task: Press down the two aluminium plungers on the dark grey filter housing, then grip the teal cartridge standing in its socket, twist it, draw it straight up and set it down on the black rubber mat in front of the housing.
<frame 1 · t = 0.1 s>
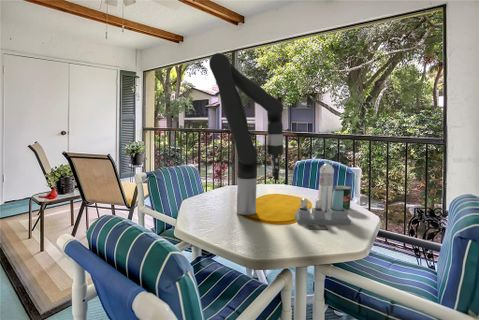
hand: (275, 177, 142), 17 cm above the table, tool pointing down, fingers open, 8 cm apart
water bottle: (324, 210, 150), on the table
plunger a: (304, 204, 133), point 8 cm above the table, slide at 0.0 cm
filter housing: (321, 220, 135), on the table
rubber mat: (317, 227, 126), on the table
plunger b: (318, 205, 133), point 8 cm above the table, slide at 0.0 cm
canned tomato: (341, 208, 155), on the table
filter cartridge: (336, 216, 134), point 2 cm above the table, touching filter housing
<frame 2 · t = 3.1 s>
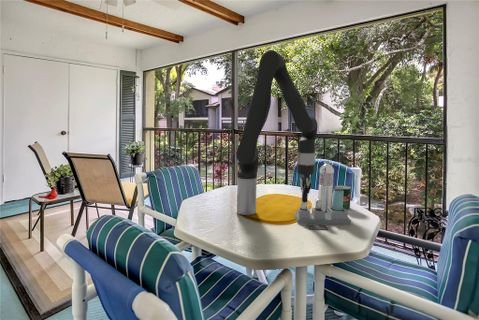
hand: (304, 201, 133), 9 cm above the table, tool pointing down, fingers closed
plunger a: (303, 207, 133), point 7 cm above the table, slide at 1.0 cm, touching gripper
everything else where it was.
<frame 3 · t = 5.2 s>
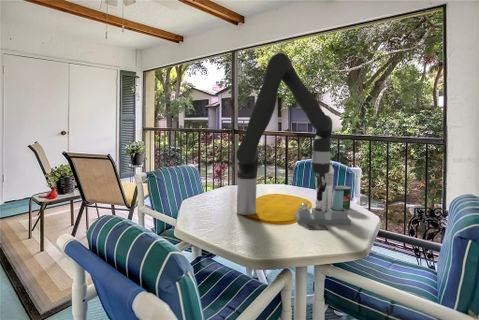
hand: (319, 200, 132), 10 cm above the table, tool pointing down, fingers closed
plunger a: (303, 209, 133), point 5 cm above the table, slide at 2.1 cm
plunger b: (318, 205, 133), point 7 cm above the table, slide at 0.2 cm, touching gripper
everything else where it was.
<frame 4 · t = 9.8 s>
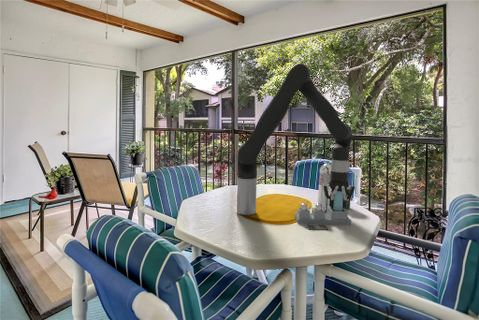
hand: (337, 207, 134), 6 cm above the table, tool pointing down, fingers closed on filter cartridge, 4 cm apart
plunger b: (318, 209, 133), point 5 cm above the table, slide at 2.1 cm
filter cartridge: (336, 216, 134), point 2 cm above the table, touching filter housing, gripper
everything else where it was.
when the fingers open (6 cm above the table, at t = 16.2 s): filter cartridge drops 1 cm, resting on rubber mat.
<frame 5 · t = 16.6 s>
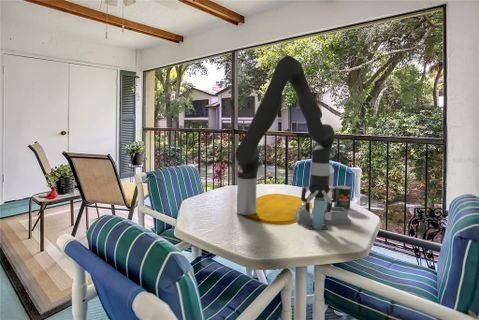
hand: (317, 211, 125), 7 cm above the table, tool pointing down, fingers open, 8 cm apart
filter cartridge: (317, 227, 126), point 1 cm above the table, touching rubber mat
everything else where it was.
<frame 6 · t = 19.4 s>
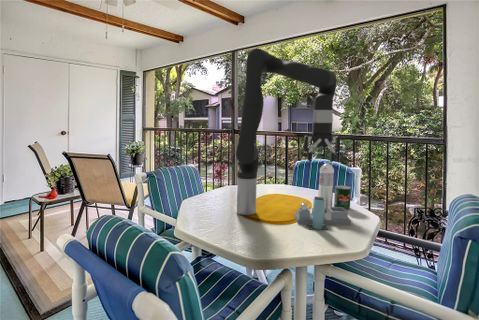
hand: (320, 161, 122), 28 cm above the table, tool pointing down, fingers open, 8 cm apart
nothing on the table moved.
at the end: filter cartridge inside the target area on the rubber mat (0.9 cm from its centre), point 0.4 cm above the rubber mat's base; filter cartridge tilted 0°; plunger b slide at 2.1 cm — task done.
